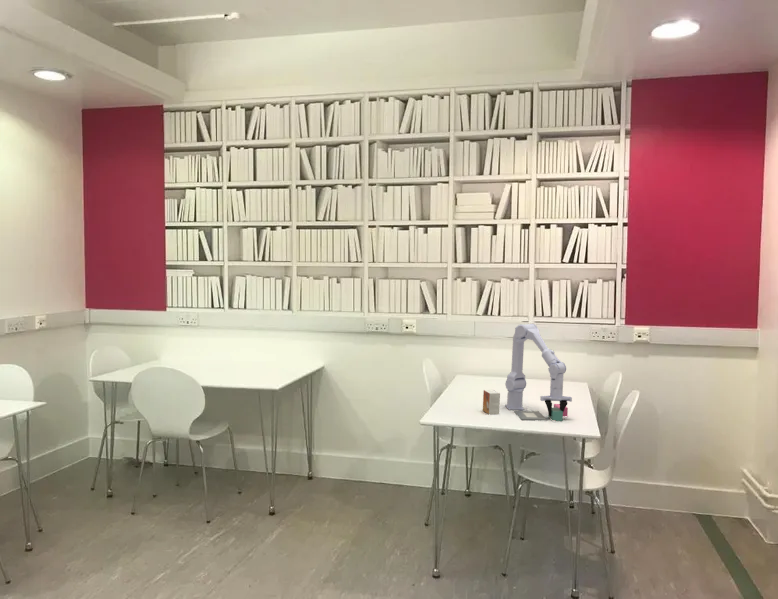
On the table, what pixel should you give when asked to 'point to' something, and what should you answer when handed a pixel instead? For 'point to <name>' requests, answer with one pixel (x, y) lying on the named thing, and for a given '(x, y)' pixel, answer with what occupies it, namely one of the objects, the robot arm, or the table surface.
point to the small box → (491, 401)
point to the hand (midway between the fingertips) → (555, 415)
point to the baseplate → (530, 415)
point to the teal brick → (556, 414)
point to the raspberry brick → (564, 409)
